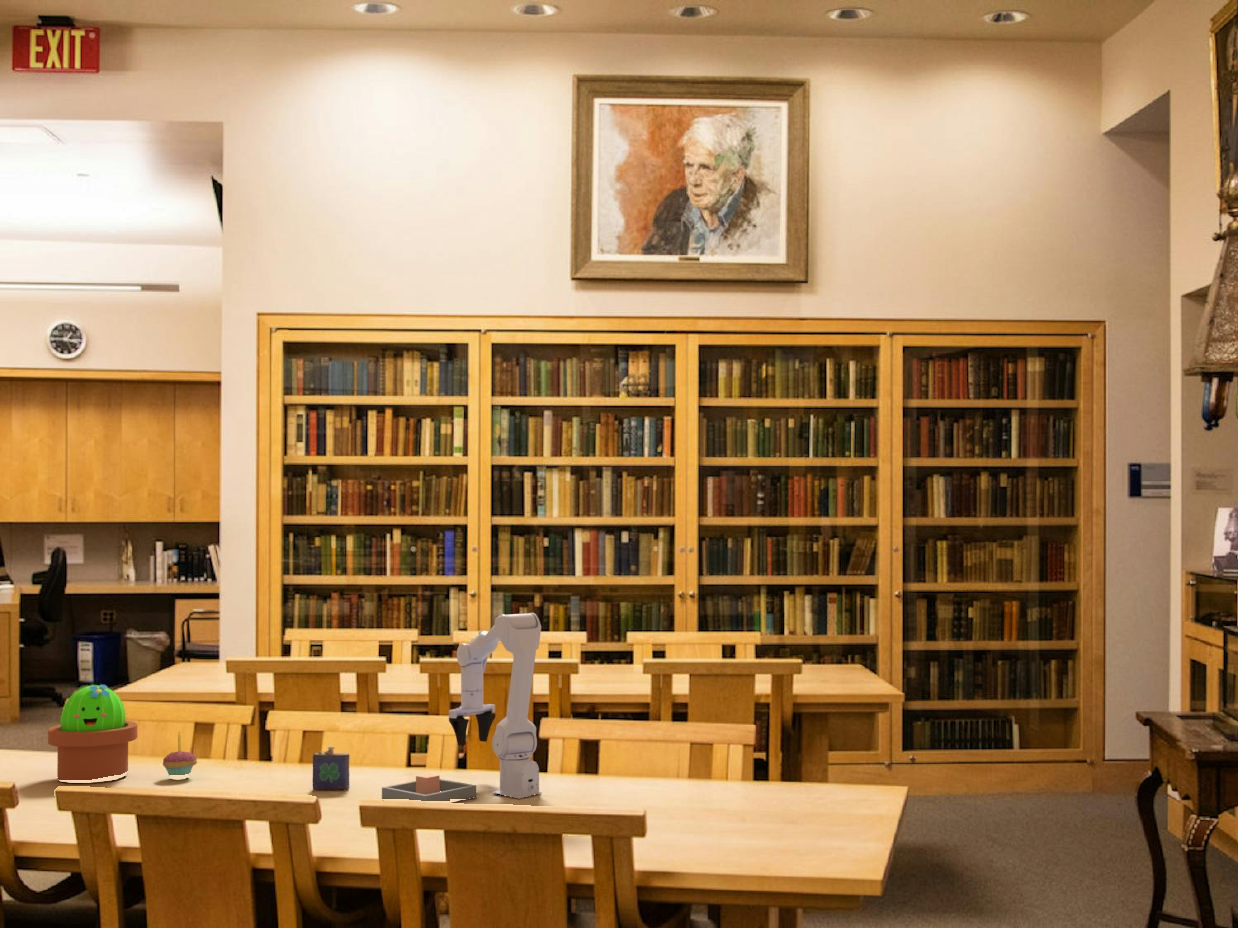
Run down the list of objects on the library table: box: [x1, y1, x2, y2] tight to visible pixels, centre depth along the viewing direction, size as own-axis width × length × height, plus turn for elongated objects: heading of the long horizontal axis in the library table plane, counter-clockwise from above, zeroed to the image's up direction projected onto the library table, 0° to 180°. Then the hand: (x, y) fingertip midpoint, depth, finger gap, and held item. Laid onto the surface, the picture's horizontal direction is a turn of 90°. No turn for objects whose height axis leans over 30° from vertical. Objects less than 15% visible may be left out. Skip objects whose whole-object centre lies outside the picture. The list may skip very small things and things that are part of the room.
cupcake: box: [162, 731, 198, 776], centre depth 360 cm, size 9×8×12 cm
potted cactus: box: [47, 684, 138, 781], centre depth 362 cm, size 22×22×25 cm
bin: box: [381, 778, 477, 801], centre depth 331 cm, size 16×16×3 cm
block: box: [415, 773, 441, 795], centre depth 331 cm, size 4×4×5 cm
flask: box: [312, 746, 350, 792], centre depth 344 cm, size 9×3×11 cm, turn 88°
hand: (472, 743), depth 354 cm, fingers open, 7 cm apart
